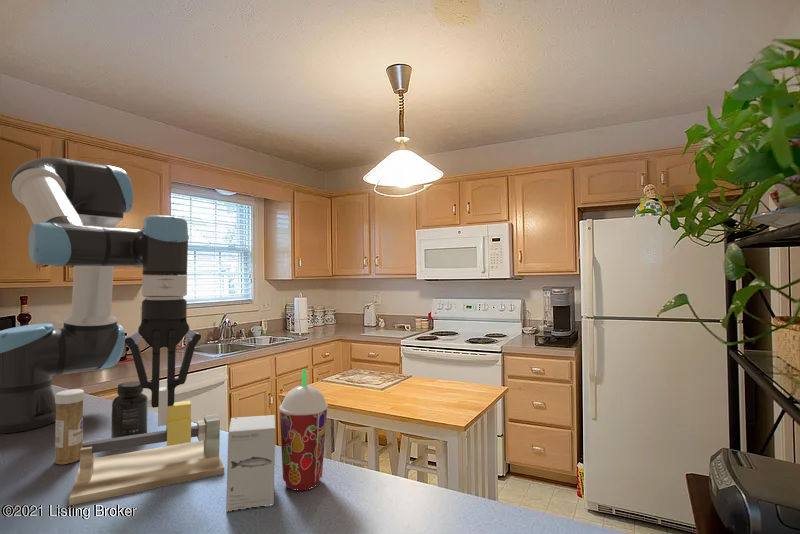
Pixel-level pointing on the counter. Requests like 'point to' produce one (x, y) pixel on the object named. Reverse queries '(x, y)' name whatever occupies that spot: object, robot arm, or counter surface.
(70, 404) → the sprinkles bottle
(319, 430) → the smoothie
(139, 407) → the supplement bottle
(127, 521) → the counter surface
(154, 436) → the gray square bar
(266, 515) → the counter surface
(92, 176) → the robot arm
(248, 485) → the supplement box
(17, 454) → the counter surface
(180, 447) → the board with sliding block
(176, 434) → the sleeve
